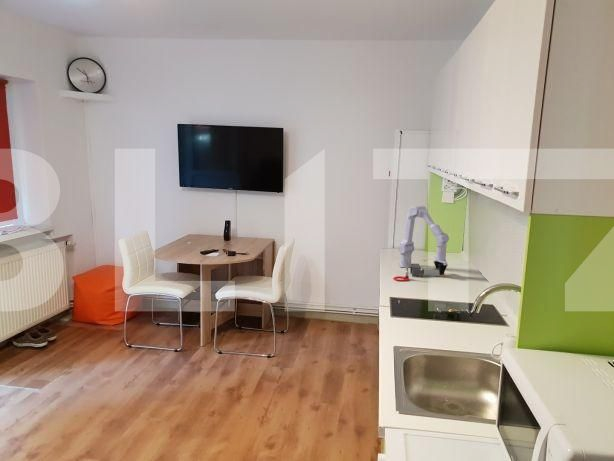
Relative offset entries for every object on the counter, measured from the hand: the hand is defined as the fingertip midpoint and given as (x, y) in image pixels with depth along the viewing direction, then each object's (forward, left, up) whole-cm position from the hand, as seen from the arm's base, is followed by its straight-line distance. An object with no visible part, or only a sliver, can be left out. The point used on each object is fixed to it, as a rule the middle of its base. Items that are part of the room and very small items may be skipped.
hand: (439, 273), depth 277 cm
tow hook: (+12, -26, -2) cm, 28 cm away
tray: (-9, -7, -1) cm, 11 cm away
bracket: (0, -15, -1) cm, 16 cm away
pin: (+1, -4, -1) cm, 5 cm away
